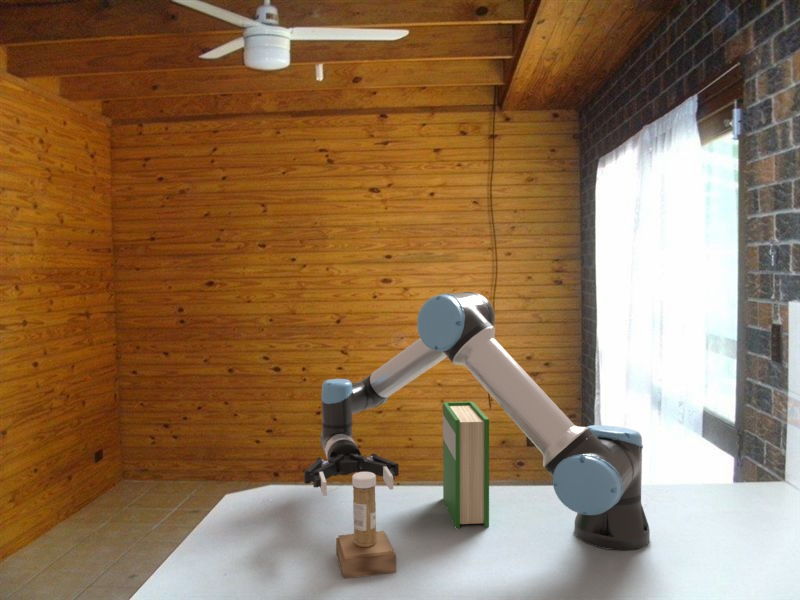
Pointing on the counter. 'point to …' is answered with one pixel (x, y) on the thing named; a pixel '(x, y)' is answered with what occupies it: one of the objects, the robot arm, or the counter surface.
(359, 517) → the sprinkles bottle
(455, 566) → the counter surface
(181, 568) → the counter surface
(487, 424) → the hardback book
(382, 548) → the walnut base
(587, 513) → the robot arm
